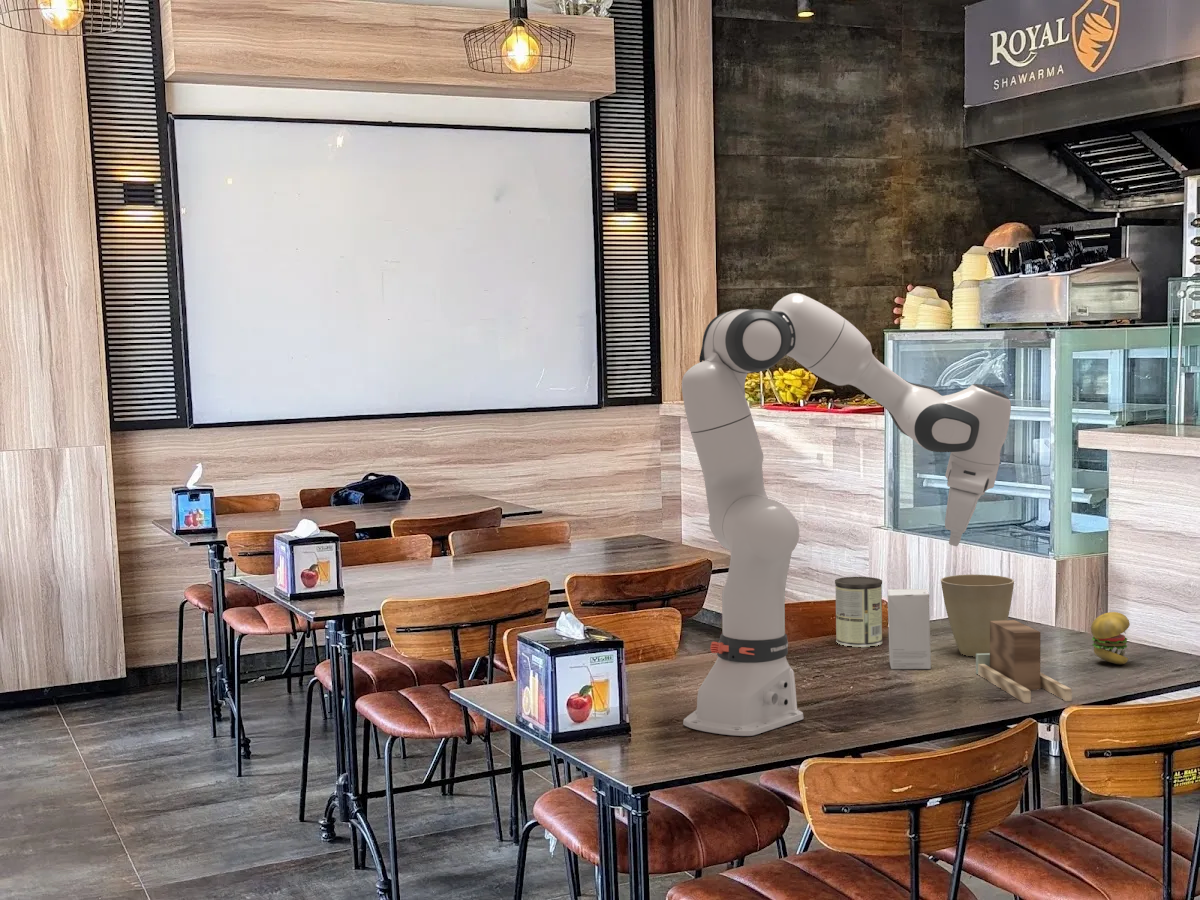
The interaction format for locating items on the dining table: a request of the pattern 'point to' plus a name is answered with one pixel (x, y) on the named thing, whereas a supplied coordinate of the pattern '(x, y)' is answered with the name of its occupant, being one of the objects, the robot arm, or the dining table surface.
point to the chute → (1019, 690)
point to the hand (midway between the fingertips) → (953, 543)
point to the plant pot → (975, 608)
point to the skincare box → (909, 629)
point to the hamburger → (1110, 636)
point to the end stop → (982, 660)
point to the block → (1016, 652)
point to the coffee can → (859, 611)
